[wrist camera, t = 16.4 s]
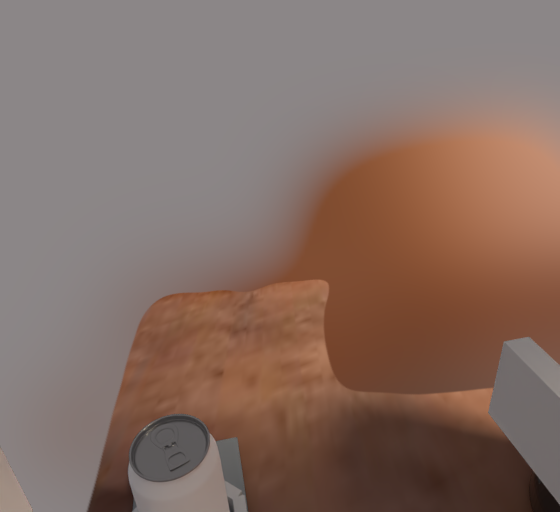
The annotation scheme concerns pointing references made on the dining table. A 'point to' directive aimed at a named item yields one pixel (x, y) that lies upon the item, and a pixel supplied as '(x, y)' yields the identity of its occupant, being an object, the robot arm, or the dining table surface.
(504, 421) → the robot arm
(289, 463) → the dining table surface
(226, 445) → the socket plate
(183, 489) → the can
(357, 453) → the dining table surface
